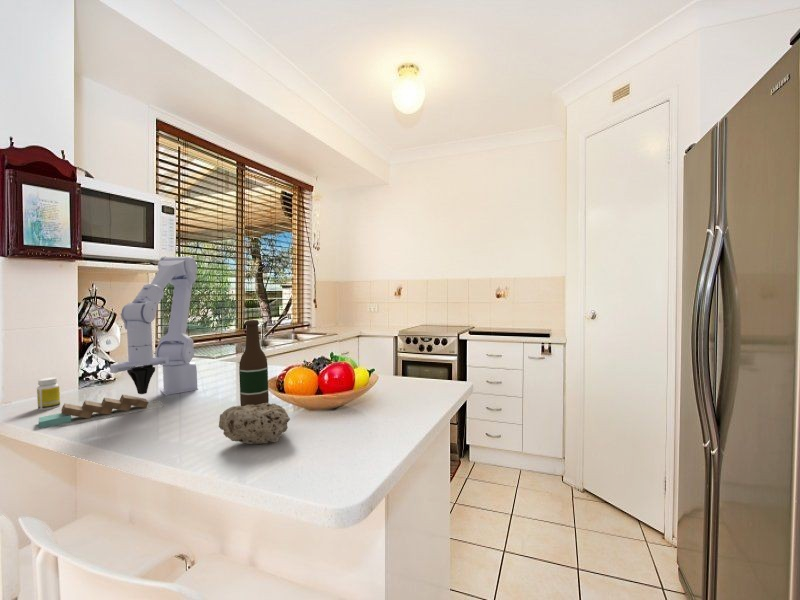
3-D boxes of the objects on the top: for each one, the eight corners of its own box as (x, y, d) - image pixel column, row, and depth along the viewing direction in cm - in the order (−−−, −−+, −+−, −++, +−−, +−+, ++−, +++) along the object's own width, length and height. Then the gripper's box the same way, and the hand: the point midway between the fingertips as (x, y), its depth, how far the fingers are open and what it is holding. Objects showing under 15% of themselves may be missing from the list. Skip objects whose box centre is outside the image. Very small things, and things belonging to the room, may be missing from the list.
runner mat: (158, 400, 117) (158, 400, 117) (164, 406, 110) (164, 406, 110) (60, 418, 102) (60, 417, 102) (61, 426, 96) (60, 425, 96)
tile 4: (91, 408, 105) (64, 403, 101) (92, 412, 101) (64, 407, 98) (88, 414, 105) (61, 409, 101) (89, 418, 101) (61, 413, 97)
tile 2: (129, 401, 111) (104, 397, 107) (131, 405, 107) (105, 401, 103) (126, 407, 110) (101, 403, 106) (128, 411, 107) (103, 407, 103)
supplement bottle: (64, 405, 114) (63, 376, 114) (48, 410, 109) (47, 380, 109) (49, 405, 115) (48, 376, 114) (33, 410, 110) (31, 380, 110)
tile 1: (145, 398, 113) (122, 394, 109) (148, 402, 110) (124, 397, 106) (143, 404, 113) (119, 400, 109) (146, 408, 109) (121, 403, 105)
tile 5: (70, 411, 102) (39, 417, 98) (70, 415, 99) (38, 422, 95) (71, 417, 102) (40, 423, 98) (71, 421, 99) (39, 428, 95)
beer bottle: (245, 413, 103) (242, 322, 102) (235, 407, 109) (232, 320, 108) (274, 407, 108) (271, 320, 107) (263, 401, 114) (260, 318, 113)
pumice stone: (218, 458, 76) (216, 417, 76) (220, 436, 87) (219, 401, 87) (292, 445, 81) (291, 407, 81) (285, 426, 92) (284, 393, 92)
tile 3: (110, 404, 108) (84, 400, 104) (112, 408, 104) (85, 404, 101) (108, 410, 107) (82, 406, 104) (110, 414, 104) (82, 410, 100)
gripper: (158, 341, 118) (160, 385, 119) (103, 348, 106) (105, 398, 106) (172, 342, 115) (174, 388, 115) (116, 349, 102) (119, 401, 103)
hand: (142, 393), depth 111 cm, fingers closed
